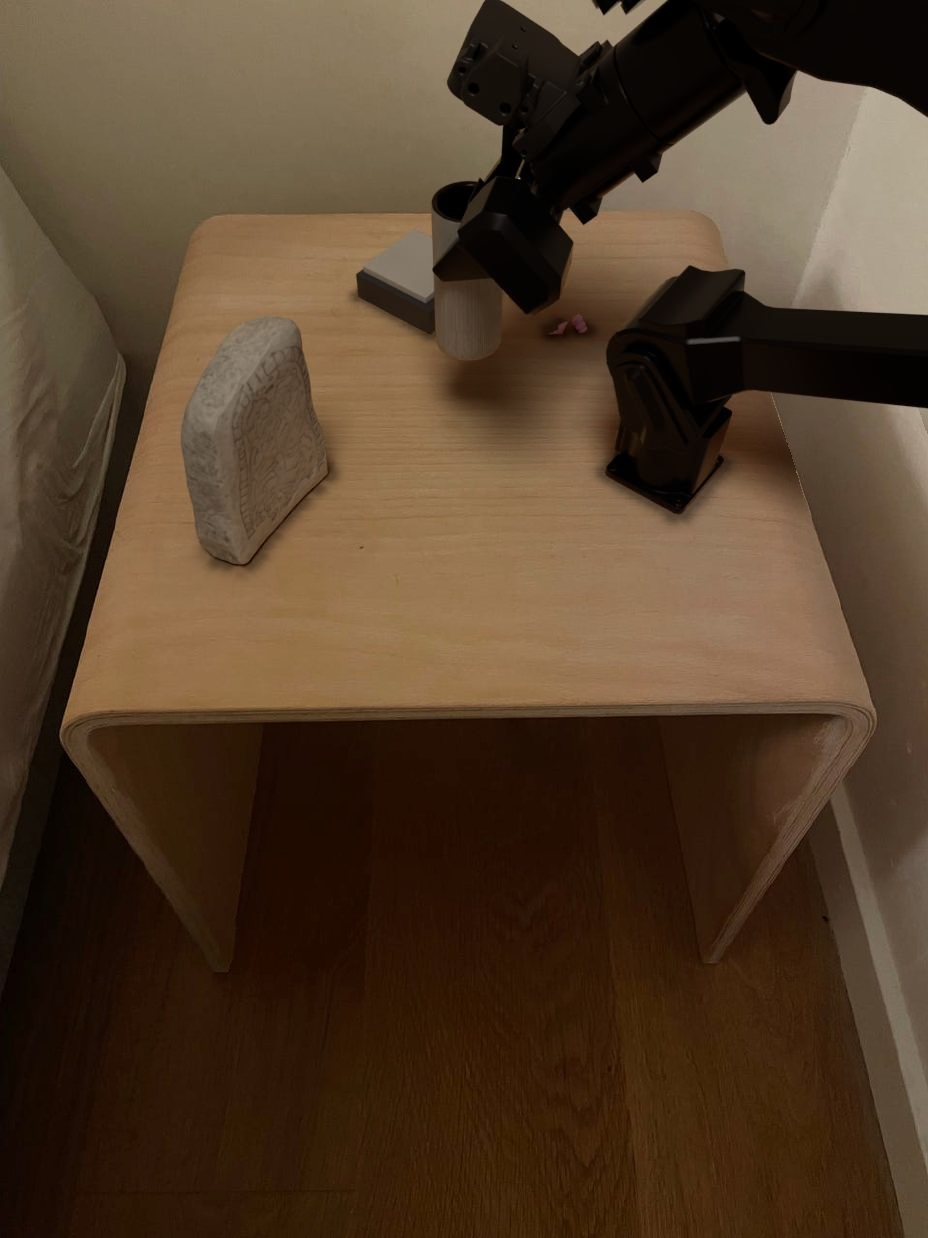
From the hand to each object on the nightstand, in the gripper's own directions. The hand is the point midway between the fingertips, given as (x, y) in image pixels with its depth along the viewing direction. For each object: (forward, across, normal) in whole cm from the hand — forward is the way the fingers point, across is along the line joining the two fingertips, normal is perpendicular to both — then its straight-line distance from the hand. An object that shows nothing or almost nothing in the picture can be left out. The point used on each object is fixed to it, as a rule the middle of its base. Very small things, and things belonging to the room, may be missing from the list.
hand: (447, 252), depth 58 cm
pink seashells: (+6, -12, +15) cm, 20 cm away
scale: (+14, -14, +5) cm, 21 cm away
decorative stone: (+17, +13, +3) cm, 21 cm away
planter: (+4, 0, +6) cm, 7 cm away
